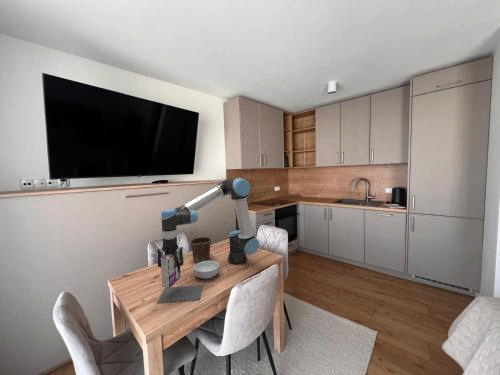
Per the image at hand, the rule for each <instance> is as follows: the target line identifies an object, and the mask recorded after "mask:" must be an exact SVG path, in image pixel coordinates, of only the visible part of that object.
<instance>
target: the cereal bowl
mask: <svg viewBox="0 0 500 375" xmlns="http://www.w3.org/2000/svg"><path fill="white" fill-rule="evenodd" d="M219 271H220V263H219V262H218V261H216V260H209V261H203V262H200V263H195V264H194V265H193V274H194V276H196V277H197V278H200V279H203V280H209V279H211V278H213V277H215V276H217V274H218V273H219Z"/></svg>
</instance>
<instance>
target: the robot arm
mask: <svg viewBox="0 0 500 375" xmlns="http://www.w3.org/2000/svg"><path fill="white" fill-rule="evenodd" d="M250 191H251V185H250V183H249V181H248V180H246V179H245V178H240V177H238V178H237V177H234V178H233V177H231V178H227V179H224V180H222V181H220V182H219V183H217V184H216V185H214V187H212V188H211V189H209V190H207V191H206V192H204V193H202V194H200V195H199V196H197V197H194V198H193V199H191V200H190V201H188V202H186V203H184V204H183V205H181V206H179V207H174V208H168V209H167V208H166V209H163V210H162V211H161V218H160V220H161V237H162V241H161V242H162V247H158V248H157V250H156V253H157V267H158V268H161V257H163V256H164V255H168V254H172V255H173V256H174V259H175V262H176V265H177V266H176V279H178V277H179V272H180V273H181V266H183V265H184V255H183V254H184V253H183V249H184V247H183V246H179V245H178V228H177V227H178V226H182V225H183V226H184V225H190V224H191V225H192V224H195V223H197V222H198V220H199V219H198V218H199V216H198V212H197V211H199V210H201V209H202V208H204V207H205V206H207V205H208V204H210V203H212V202H214V201H215V200H218V199H219V198H223V197H225V196H227V195H230V198H231V200H232V201H233V202H234V209H235V213H236V219H237V225H238V230H232V231H230V233H229V234H228V238H229V242H228V244H229V252H228V256H227V263H228V264H230V265H235V266H237V265H243V264H245V263H247V262H248V256H247V255H253V254H256V253H257V251H258V249H259V247H260V241H259V240H258V239H257V238H256V236H255V232H254V231H253V230H252V224H251V218H250V214H249V207H248V201H247V199H248V198H249V194H250ZM176 250H178V251H179V256H180V262H179V259H178V256H177V253H176ZM162 252H164V254H162ZM162 255H163V256H162ZM178 280H179V279H178Z"/></svg>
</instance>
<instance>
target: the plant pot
mask: <svg viewBox="0 0 500 375" xmlns="http://www.w3.org/2000/svg"><path fill="white" fill-rule="evenodd" d="M211 242H212V238H211V237H207V236H206V237H205V236H203V237H202V236H201V237H195V238H193V239H191V240H190V241H189V243H190V247H191V250H192V258H193V263H195V264H197V263H200V262H203V261H211V259H210V257H211V256H210V255H211Z"/></svg>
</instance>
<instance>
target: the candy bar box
mask: <svg viewBox="0 0 500 375" xmlns="http://www.w3.org/2000/svg"><path fill="white" fill-rule="evenodd" d="M176 253H177V256H178V259H179V262H180V256H179V251H178V249H177V250H176ZM176 266H177V265H176V262H175V259H174V256H173V255H172V254H168V255H164V254H163V256H162V257H161V267H160V269H161V271H160V272H161V285H162V286H161V287H162V288H166V287H168V288H170V287H173V285H174V284H175V283H177V281H179V279H180V278H181V271H180V272H179V277H178V279H176Z"/></svg>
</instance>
